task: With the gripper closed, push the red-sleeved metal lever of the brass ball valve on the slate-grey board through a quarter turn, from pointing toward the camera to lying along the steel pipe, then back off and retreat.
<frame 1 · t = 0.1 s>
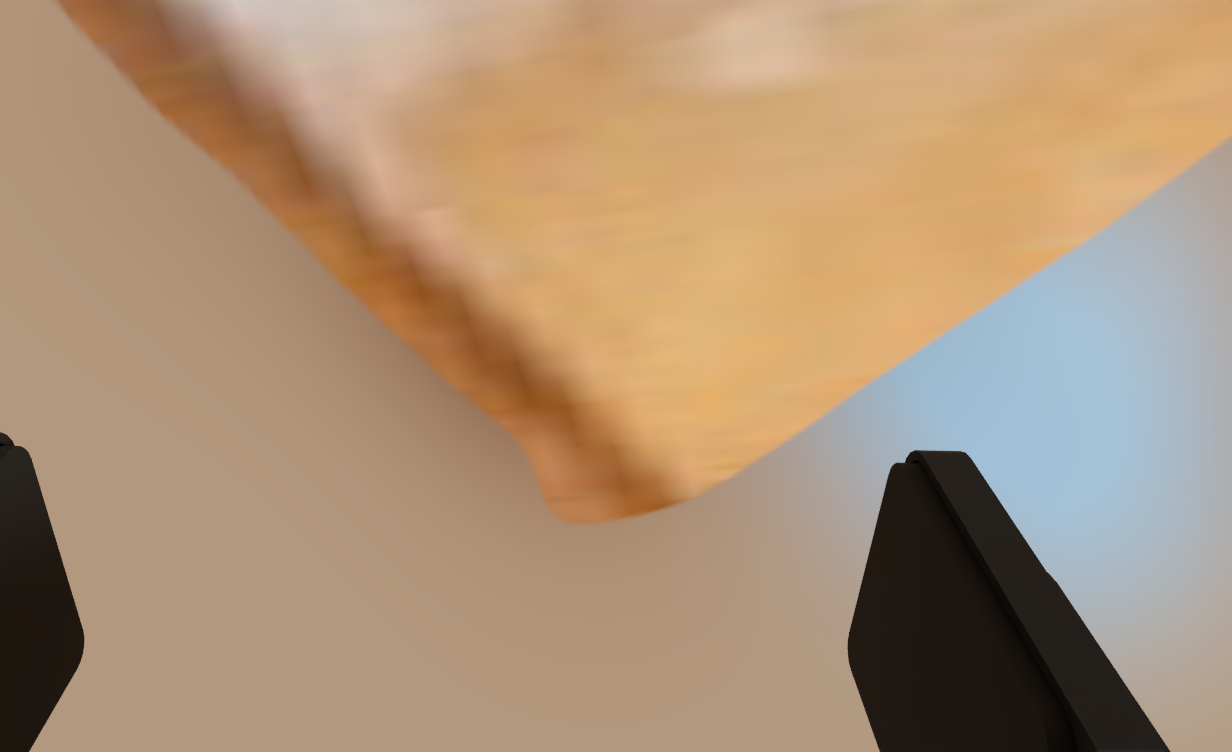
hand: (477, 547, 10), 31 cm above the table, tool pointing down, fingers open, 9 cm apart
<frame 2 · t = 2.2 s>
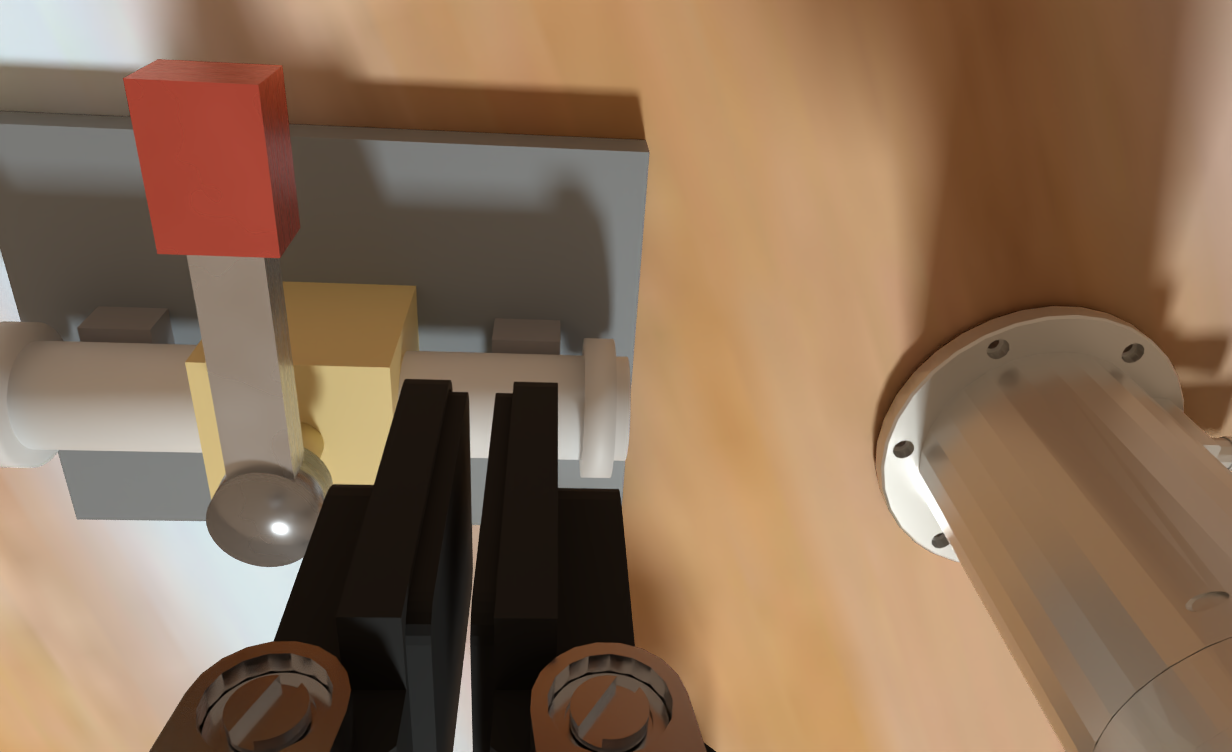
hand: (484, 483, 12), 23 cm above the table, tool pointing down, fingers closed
lever: (247, 340, 24), point 11 cm above the table, hinge at -90.0°
valve: (345, 333, 36), on the table
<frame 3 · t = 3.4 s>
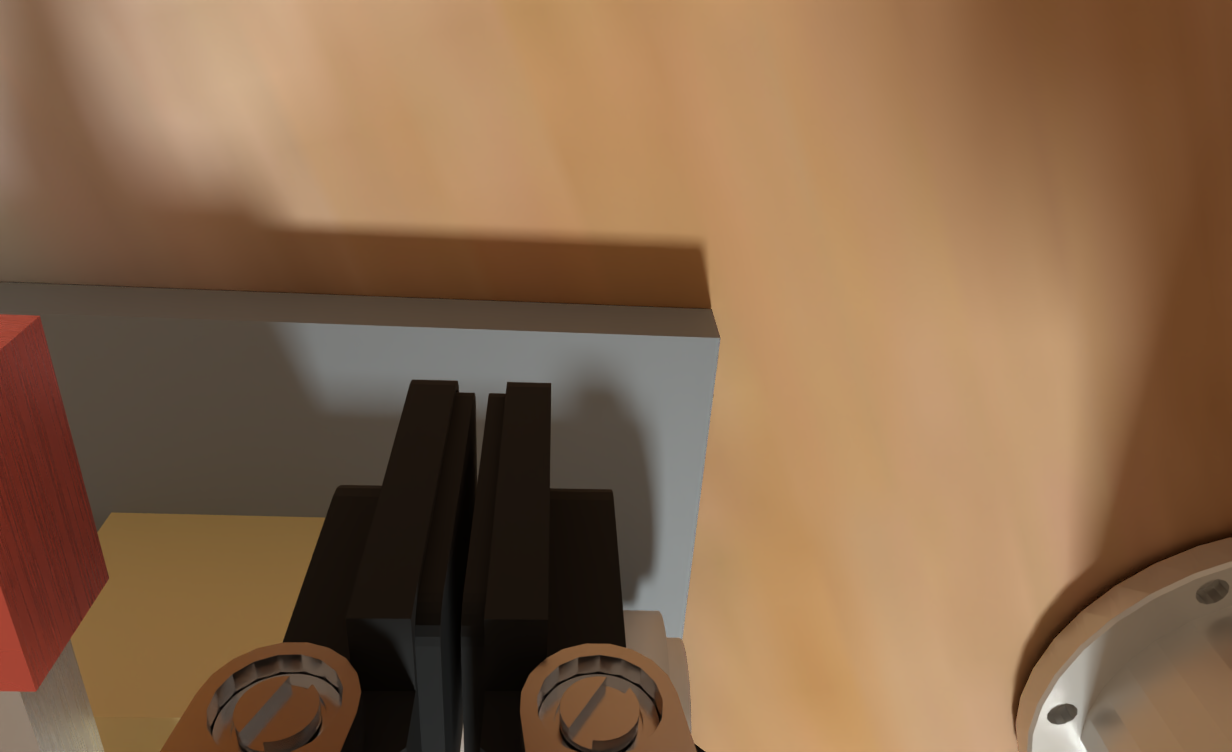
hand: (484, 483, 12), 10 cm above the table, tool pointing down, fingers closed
valve: (272, 564, 25), on the table
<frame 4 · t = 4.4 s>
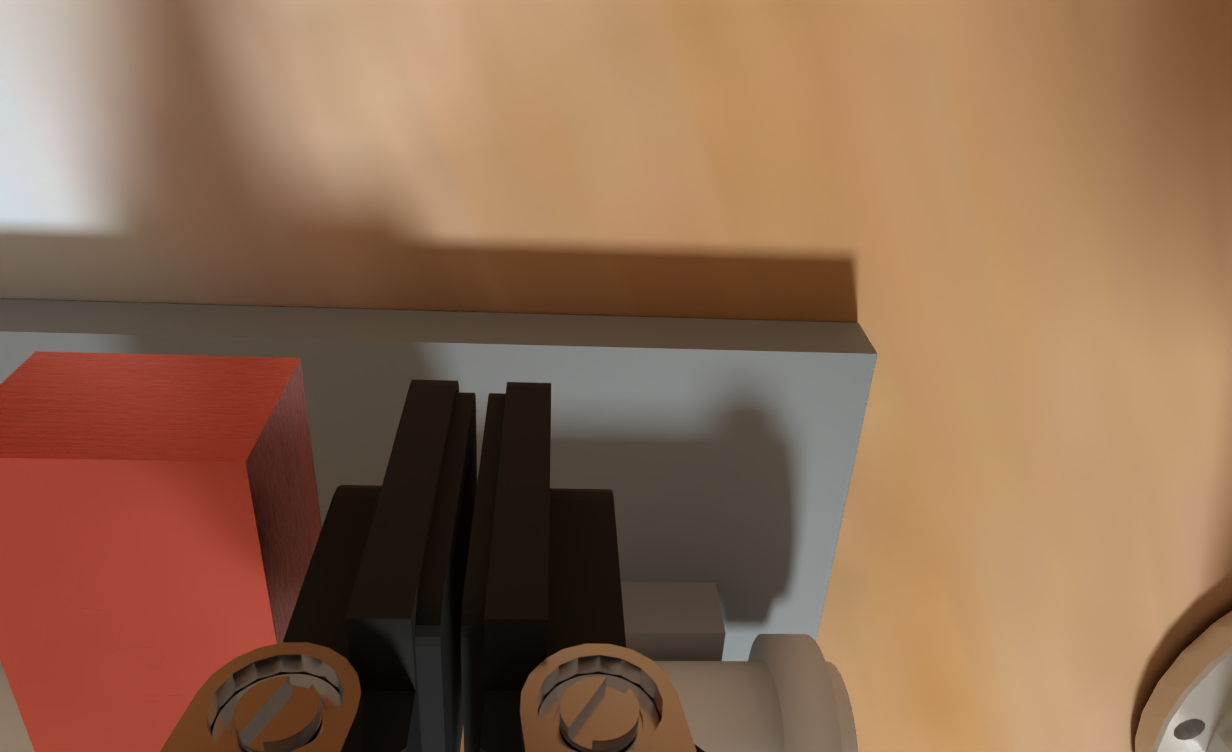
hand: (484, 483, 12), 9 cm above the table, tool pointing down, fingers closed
valve: (389, 586, 24), on the table
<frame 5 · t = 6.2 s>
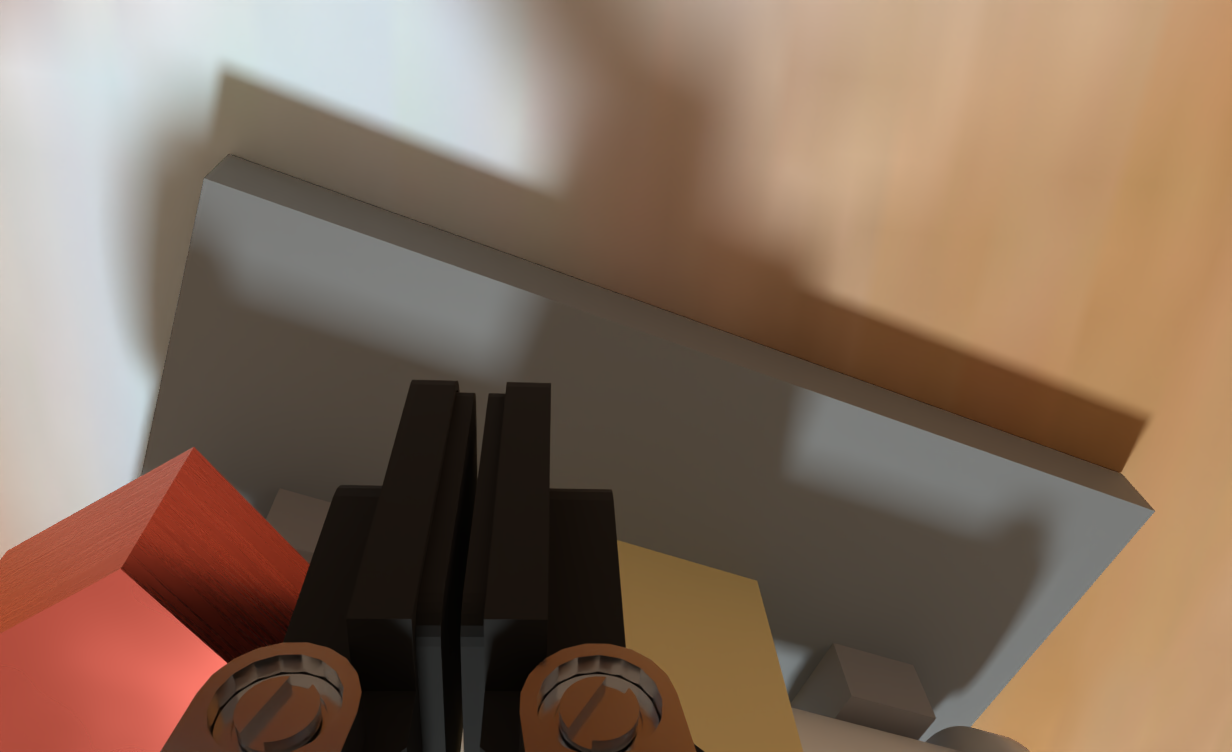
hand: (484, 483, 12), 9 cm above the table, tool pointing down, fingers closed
valve: (596, 588, 24), on the table
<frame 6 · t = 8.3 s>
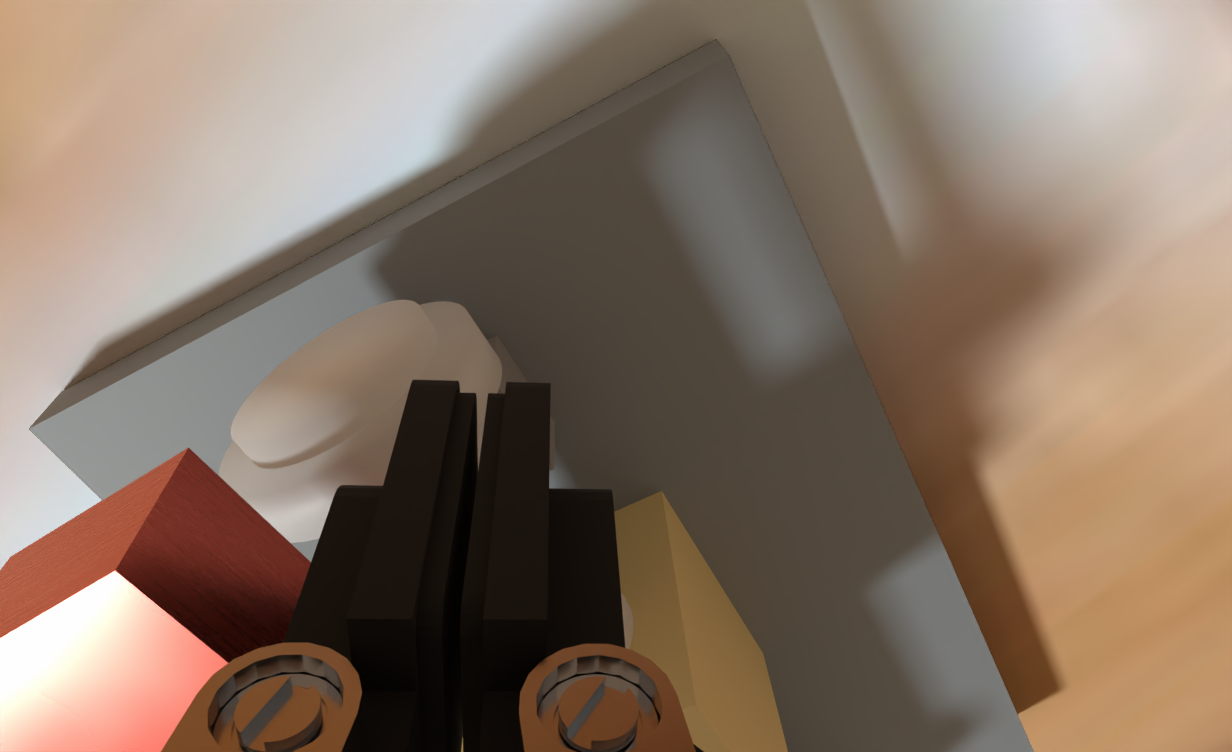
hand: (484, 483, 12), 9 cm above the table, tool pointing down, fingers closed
valve: (609, 578, 24), on the table
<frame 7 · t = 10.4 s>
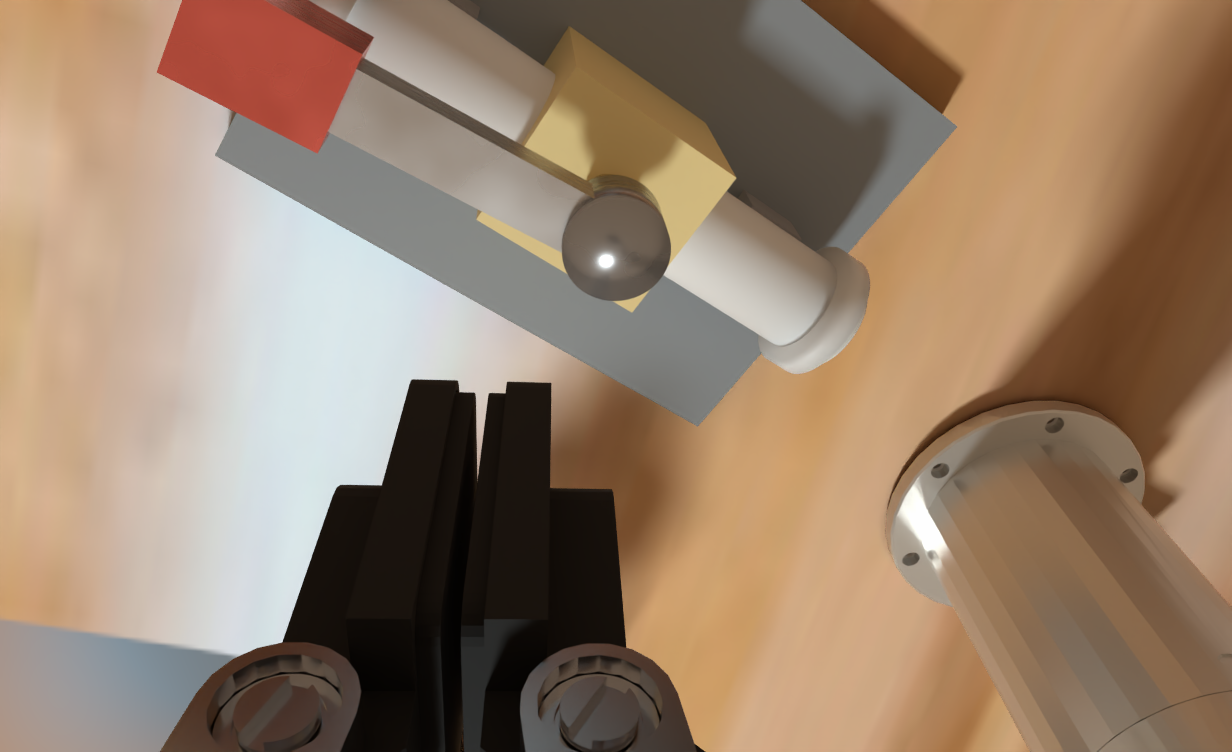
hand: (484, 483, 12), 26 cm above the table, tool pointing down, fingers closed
lever: (444, 147, 25), point 11 cm above the table, hinge at 4.0°
valve: (592, 128, 35), on the table
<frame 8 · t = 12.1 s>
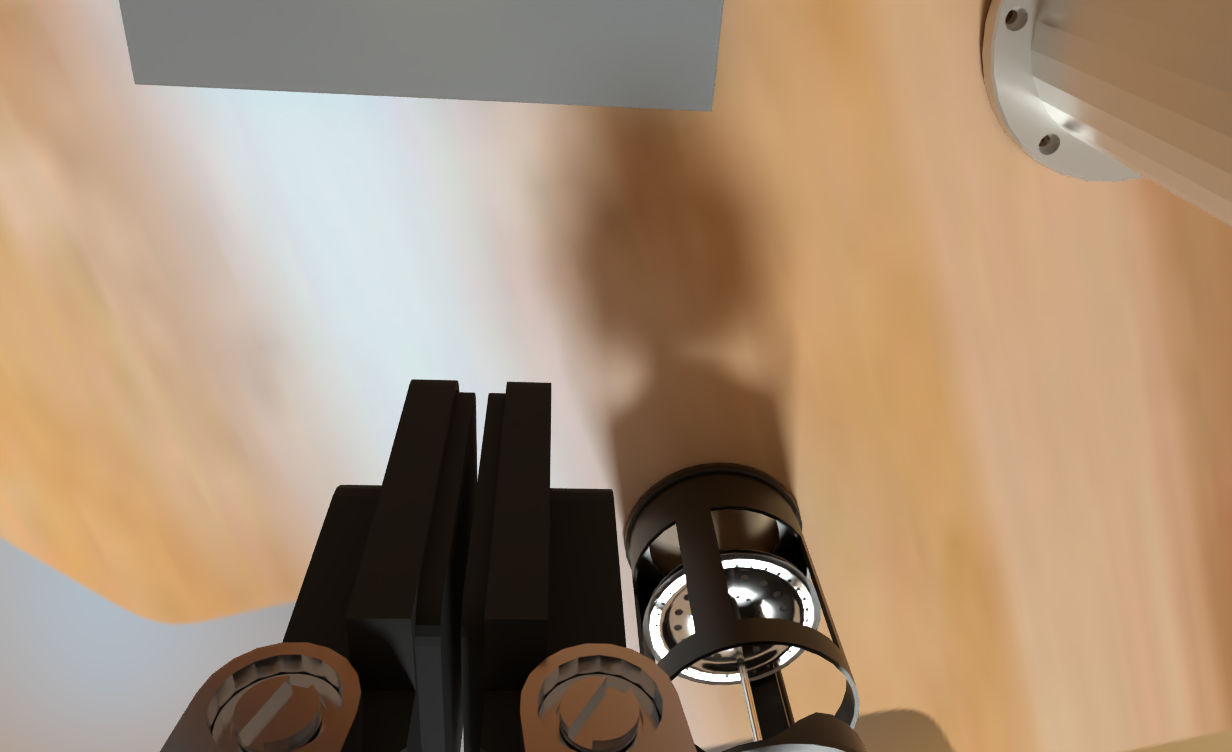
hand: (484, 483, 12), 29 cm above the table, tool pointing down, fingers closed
french press: (715, 539, 50), on the table
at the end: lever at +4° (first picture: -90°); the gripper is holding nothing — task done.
